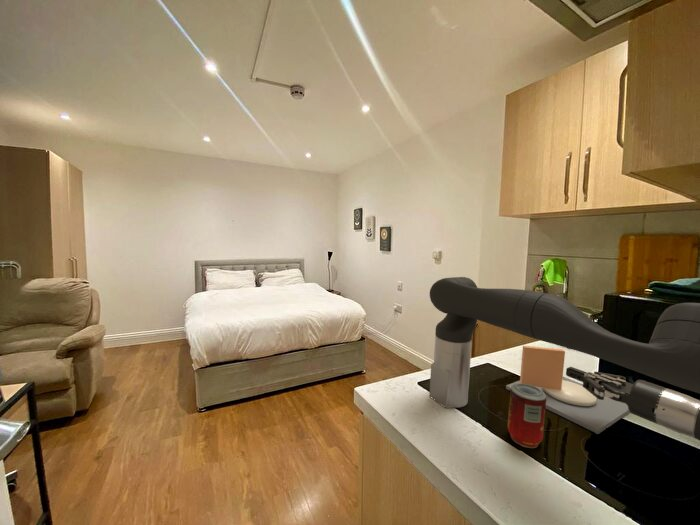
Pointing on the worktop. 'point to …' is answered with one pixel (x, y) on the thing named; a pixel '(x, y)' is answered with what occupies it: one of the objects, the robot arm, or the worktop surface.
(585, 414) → the board
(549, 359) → the dial lever
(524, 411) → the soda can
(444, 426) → the worktop surface
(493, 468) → the worktop surface
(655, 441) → the worktop surface
